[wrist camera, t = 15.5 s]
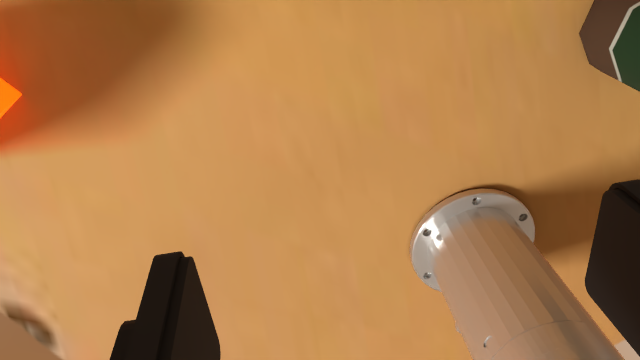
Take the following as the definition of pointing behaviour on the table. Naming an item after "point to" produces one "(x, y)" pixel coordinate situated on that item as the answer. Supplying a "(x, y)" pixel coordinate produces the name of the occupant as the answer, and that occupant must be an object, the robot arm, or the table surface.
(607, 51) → the beer bottle
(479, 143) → the table surface
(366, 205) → the table surface
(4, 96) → the orange juice
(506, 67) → the table surface
